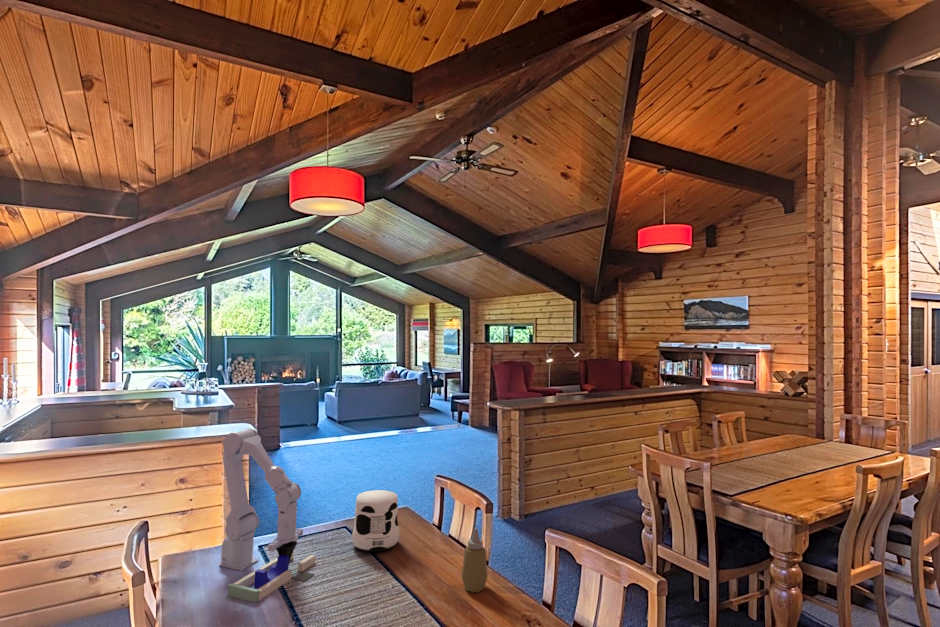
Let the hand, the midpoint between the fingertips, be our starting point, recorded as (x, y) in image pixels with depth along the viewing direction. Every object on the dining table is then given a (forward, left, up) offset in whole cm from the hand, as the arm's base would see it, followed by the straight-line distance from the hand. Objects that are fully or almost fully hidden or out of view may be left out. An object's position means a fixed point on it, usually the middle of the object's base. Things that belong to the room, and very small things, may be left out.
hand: (284, 565), depth 159 cm
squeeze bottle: (+61, +13, -2) cm, 62 cm away
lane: (0, -4, -2) cm, 5 cm away
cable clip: (+1, -8, -2) cm, 8 cm away
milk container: (+17, +29, -2) cm, 33 cm away
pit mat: (+8, -1, -2) cm, 8 cm away
